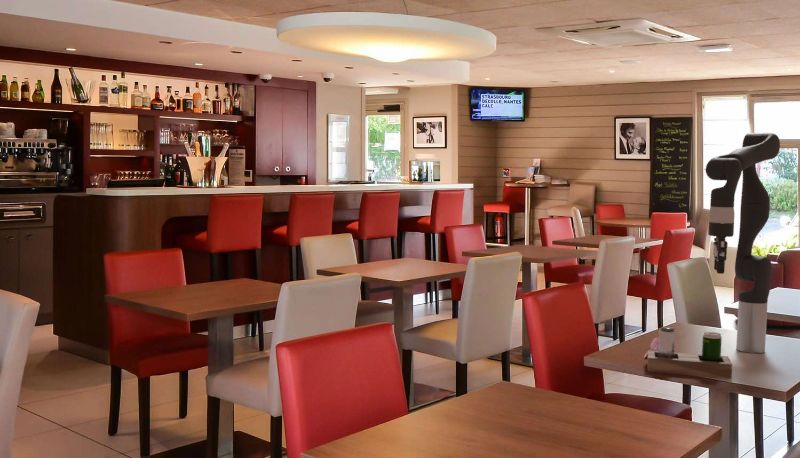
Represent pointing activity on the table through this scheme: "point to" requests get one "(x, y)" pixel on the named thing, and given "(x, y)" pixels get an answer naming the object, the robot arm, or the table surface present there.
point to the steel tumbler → (666, 342)
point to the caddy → (689, 365)
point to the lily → (654, 345)
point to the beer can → (711, 347)
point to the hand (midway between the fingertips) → (719, 271)
